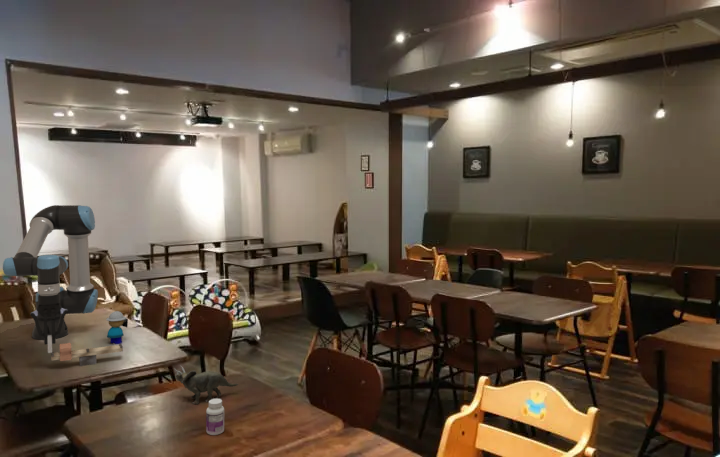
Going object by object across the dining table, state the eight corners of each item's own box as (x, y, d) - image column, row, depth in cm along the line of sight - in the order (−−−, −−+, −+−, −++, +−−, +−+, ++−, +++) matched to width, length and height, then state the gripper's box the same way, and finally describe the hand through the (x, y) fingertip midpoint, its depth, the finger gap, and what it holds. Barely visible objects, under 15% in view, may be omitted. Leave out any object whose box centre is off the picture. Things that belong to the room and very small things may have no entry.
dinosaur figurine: (238, 393, 186) (238, 363, 186) (237, 403, 178) (237, 371, 177) (175, 396, 183) (175, 365, 182) (170, 405, 174) (170, 373, 174)
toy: (130, 341, 245) (130, 310, 244) (114, 346, 237) (114, 314, 236) (117, 338, 249) (117, 308, 248) (102, 343, 241) (101, 312, 240)
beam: (51, 370, 205) (51, 355, 204) (51, 366, 209) (51, 352, 208) (122, 360, 218) (122, 346, 218) (121, 357, 222) (121, 343, 222)
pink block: (60, 361, 205) (59, 348, 205) (59, 355, 211) (59, 344, 211) (71, 359, 207) (71, 347, 207) (70, 354, 213) (70, 342, 213)
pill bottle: (208, 427, 159) (208, 397, 159) (225, 427, 160) (225, 397, 159) (204, 435, 154) (204, 404, 153) (222, 435, 154) (222, 404, 154)
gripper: (29, 297, 198) (30, 356, 199) (68, 294, 204) (68, 352, 206) (29, 293, 204) (31, 351, 206) (67, 291, 211) (68, 347, 213)
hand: (50, 351), depth 206 cm, fingers closed
